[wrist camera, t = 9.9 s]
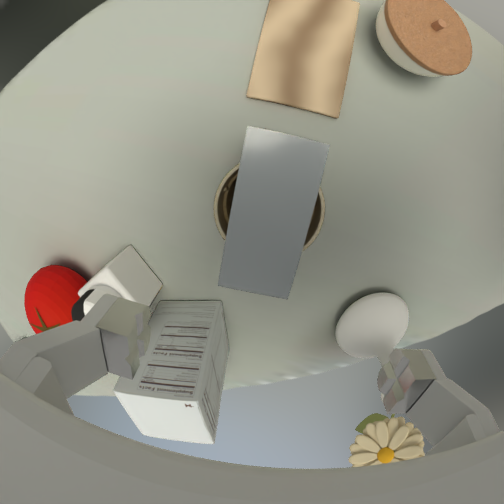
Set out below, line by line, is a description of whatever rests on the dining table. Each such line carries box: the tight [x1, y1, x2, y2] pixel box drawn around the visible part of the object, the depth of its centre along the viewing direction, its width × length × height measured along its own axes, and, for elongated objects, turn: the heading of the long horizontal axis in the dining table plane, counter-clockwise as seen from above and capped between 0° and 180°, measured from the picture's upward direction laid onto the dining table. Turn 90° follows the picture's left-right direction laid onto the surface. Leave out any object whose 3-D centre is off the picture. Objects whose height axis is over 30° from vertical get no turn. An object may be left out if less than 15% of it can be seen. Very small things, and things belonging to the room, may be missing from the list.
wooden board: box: [247, 0, 360, 118], centre depth 24 cm, size 10×16×1 cm, turn 168°
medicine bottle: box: [71, 245, 163, 321], centre depth 31 cm, size 7×7×12 cm
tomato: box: [25, 265, 87, 334], centre depth 34 cm, size 14×13×10 cm
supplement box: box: [113, 301, 229, 444], centre depth 32 cm, size 10×9×17 cm
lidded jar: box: [376, 0, 472, 77], centre depth 18 cm, size 11×11×9 cm
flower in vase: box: [335, 293, 425, 467], centre depth 26 cm, size 13×11×25 cm
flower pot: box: [214, 163, 325, 251], centre depth 27 cm, size 9×9×9 cm
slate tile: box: [218, 126, 330, 299], centre depth 22 cm, size 6×13×2 cm, turn 169°
